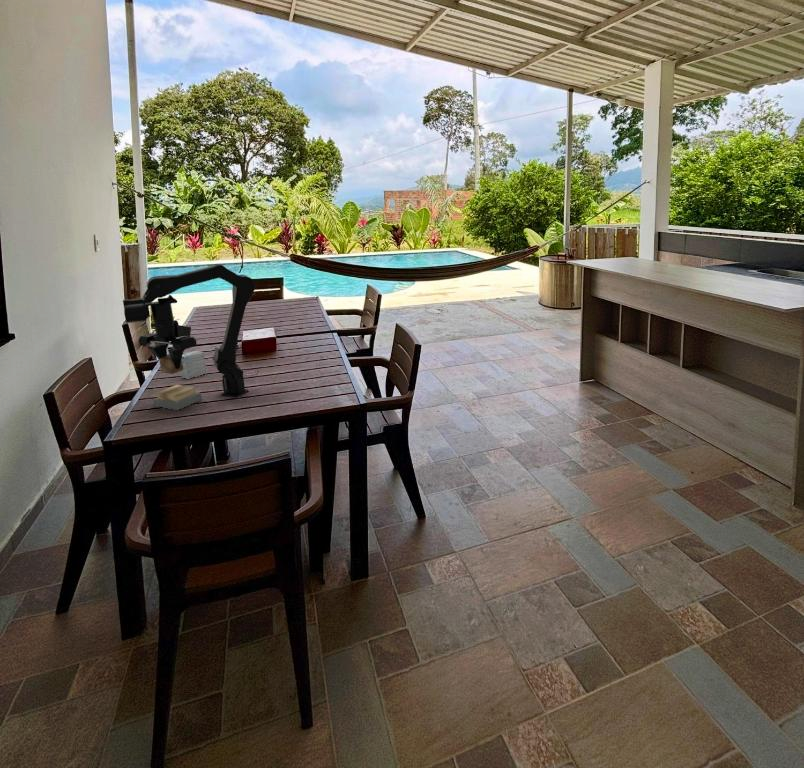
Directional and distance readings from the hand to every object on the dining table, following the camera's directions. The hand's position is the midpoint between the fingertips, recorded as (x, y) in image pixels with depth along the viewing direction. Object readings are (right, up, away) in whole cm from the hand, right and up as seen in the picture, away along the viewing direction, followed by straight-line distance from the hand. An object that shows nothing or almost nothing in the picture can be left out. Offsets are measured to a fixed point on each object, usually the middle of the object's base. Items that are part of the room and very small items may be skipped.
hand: (172, 368), depth 172 cm
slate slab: (0, -11, +4) cm, 12 cm away
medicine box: (-5, -2, +31) cm, 32 cm away
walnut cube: (0, -1, 0) cm, 1 cm away
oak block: (0, -9, +3) cm, 9 cm away
